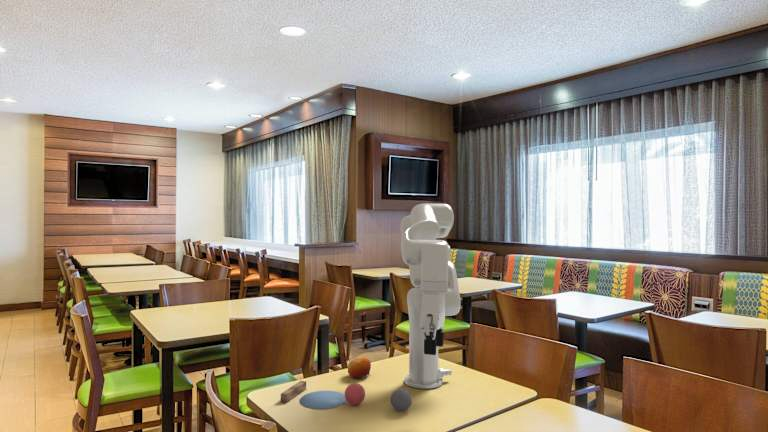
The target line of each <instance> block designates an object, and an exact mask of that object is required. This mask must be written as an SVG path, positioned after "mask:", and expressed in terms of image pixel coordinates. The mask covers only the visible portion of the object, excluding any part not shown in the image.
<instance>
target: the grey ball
mask: <svg viewBox="0 0 768 432" xmlns="http://www.w3.org/2000/svg"><path fill="white" fill-rule="evenodd" d="M412 402H413V401H412V396H411V393H410V392H409V391H408V390H406V389H404V388H398V389H395V390H393V392H392V393H391V395H390V406H391V407H392V409H393V410H395V411H396V412H400V413H402V412H405V411H408V410H409V409H410V407H411V405H412Z"/></svg>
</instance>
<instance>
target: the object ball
mask: <svg viewBox="0 0 768 432" xmlns="http://www.w3.org/2000/svg"><path fill="white" fill-rule="evenodd" d="M344 395H345V399H346V401H347V402H346V403H348V404H350V405H352V406H357V405H359V404H361V403H363V401H364V399H365V397H366V391H365V388H364V386H362V385H361V384H360V383H358V382H354V383H350V384H349V385H348V386H346V388H345V391H344Z"/></svg>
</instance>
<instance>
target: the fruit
mask: <svg viewBox="0 0 768 432" xmlns="http://www.w3.org/2000/svg"><path fill="white" fill-rule="evenodd" d="M371 367H372V364H371V361H370V359H369V357H366V356H363V355H359V356H357V357H354V358H353V359H351V360H350V361H349V363H348V366H347V373H348V375H349V376H350V377H351V378H353V379H355V380H359V379H360V380H361V379H367V376H370V372H371Z"/></svg>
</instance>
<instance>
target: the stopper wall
mask: <svg viewBox="0 0 768 432" xmlns="http://www.w3.org/2000/svg"><path fill="white" fill-rule="evenodd" d="M306 390H307V381H304V380H299V381H298V382H297V383H294V384H293V385H292V386H289V388H287V389H286V390H284V391H283V392H281V393H280V403H283V404H287V403H289V402H290V401H292V400H293V399H294V398H296V397H298V396H299V395H300V394H302V393H303V392H304V391H306Z"/></svg>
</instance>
